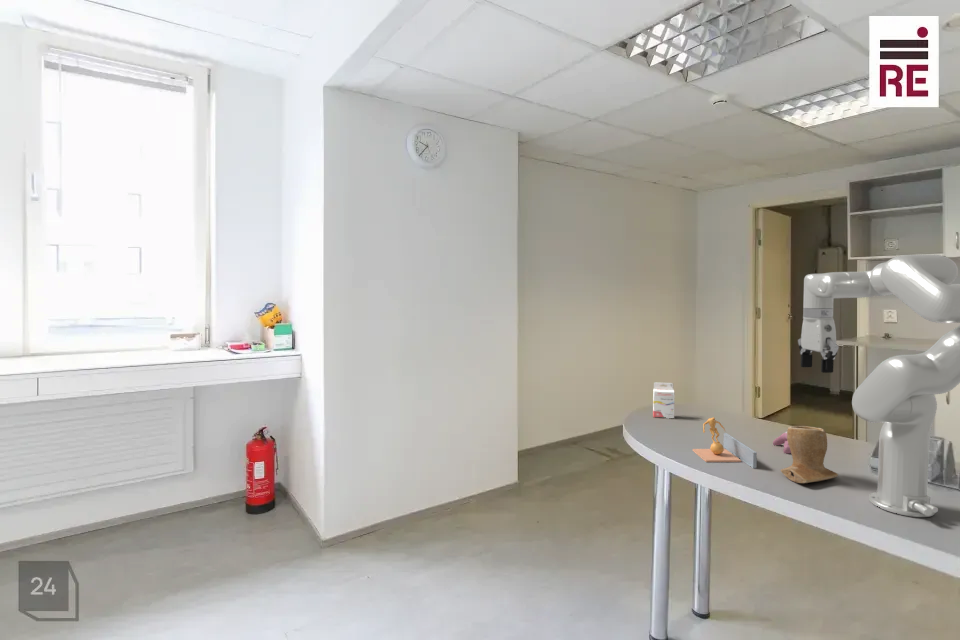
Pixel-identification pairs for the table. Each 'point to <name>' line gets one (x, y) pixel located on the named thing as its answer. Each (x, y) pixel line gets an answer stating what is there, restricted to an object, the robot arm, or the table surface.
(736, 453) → the low wall
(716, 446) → the figurine
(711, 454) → the board
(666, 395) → the ink cartridge box
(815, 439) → the stone cup
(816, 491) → the table surface
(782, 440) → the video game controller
